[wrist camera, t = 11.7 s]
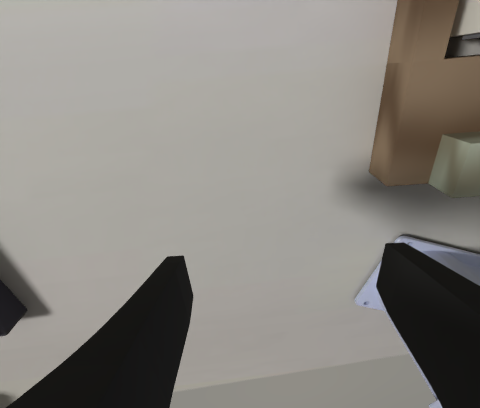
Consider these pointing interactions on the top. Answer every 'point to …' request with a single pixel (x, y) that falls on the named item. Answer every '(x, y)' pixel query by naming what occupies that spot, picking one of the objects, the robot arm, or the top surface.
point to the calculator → (9, 310)
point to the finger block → (467, 20)
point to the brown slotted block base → (428, 105)
